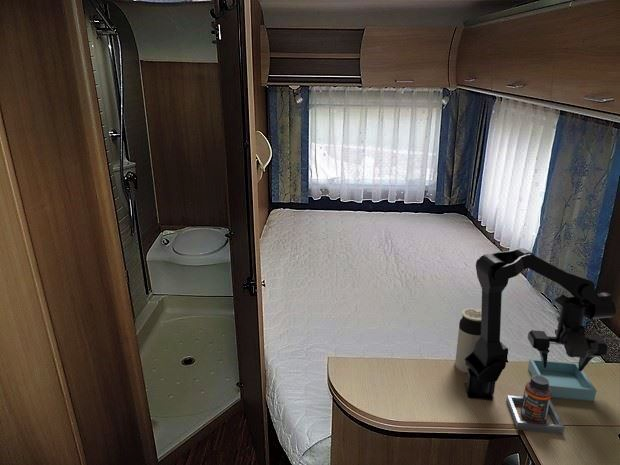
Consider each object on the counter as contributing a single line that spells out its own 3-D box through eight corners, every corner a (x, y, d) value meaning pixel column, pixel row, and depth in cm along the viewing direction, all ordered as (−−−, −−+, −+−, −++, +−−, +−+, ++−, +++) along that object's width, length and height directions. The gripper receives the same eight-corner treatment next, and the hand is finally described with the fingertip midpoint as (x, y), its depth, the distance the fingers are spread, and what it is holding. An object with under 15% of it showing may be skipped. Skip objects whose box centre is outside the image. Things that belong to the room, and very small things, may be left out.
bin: (541, 397, 121) (543, 385, 120) (527, 370, 133) (529, 358, 132) (593, 403, 119) (596, 390, 118) (574, 374, 131) (577, 362, 130)
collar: (516, 429, 110) (517, 422, 109) (506, 401, 120) (507, 395, 119) (563, 434, 108) (564, 427, 107) (548, 405, 118) (549, 399, 117)
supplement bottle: (520, 421, 113) (526, 382, 109) (520, 406, 118) (526, 369, 114) (546, 428, 110) (553, 389, 107) (545, 413, 115) (552, 375, 112)
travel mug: (464, 377, 130) (471, 321, 125) (449, 362, 138) (455, 309, 132) (488, 372, 132) (495, 318, 127) (472, 358, 140) (478, 306, 134)
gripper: (544, 330, 114) (535, 382, 119) (624, 336, 111) (612, 390, 115) (531, 310, 124) (523, 359, 129) (604, 316, 121) (593, 365, 126)
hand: (561, 368), depth 125 cm, fingers open, 9 cm apart
